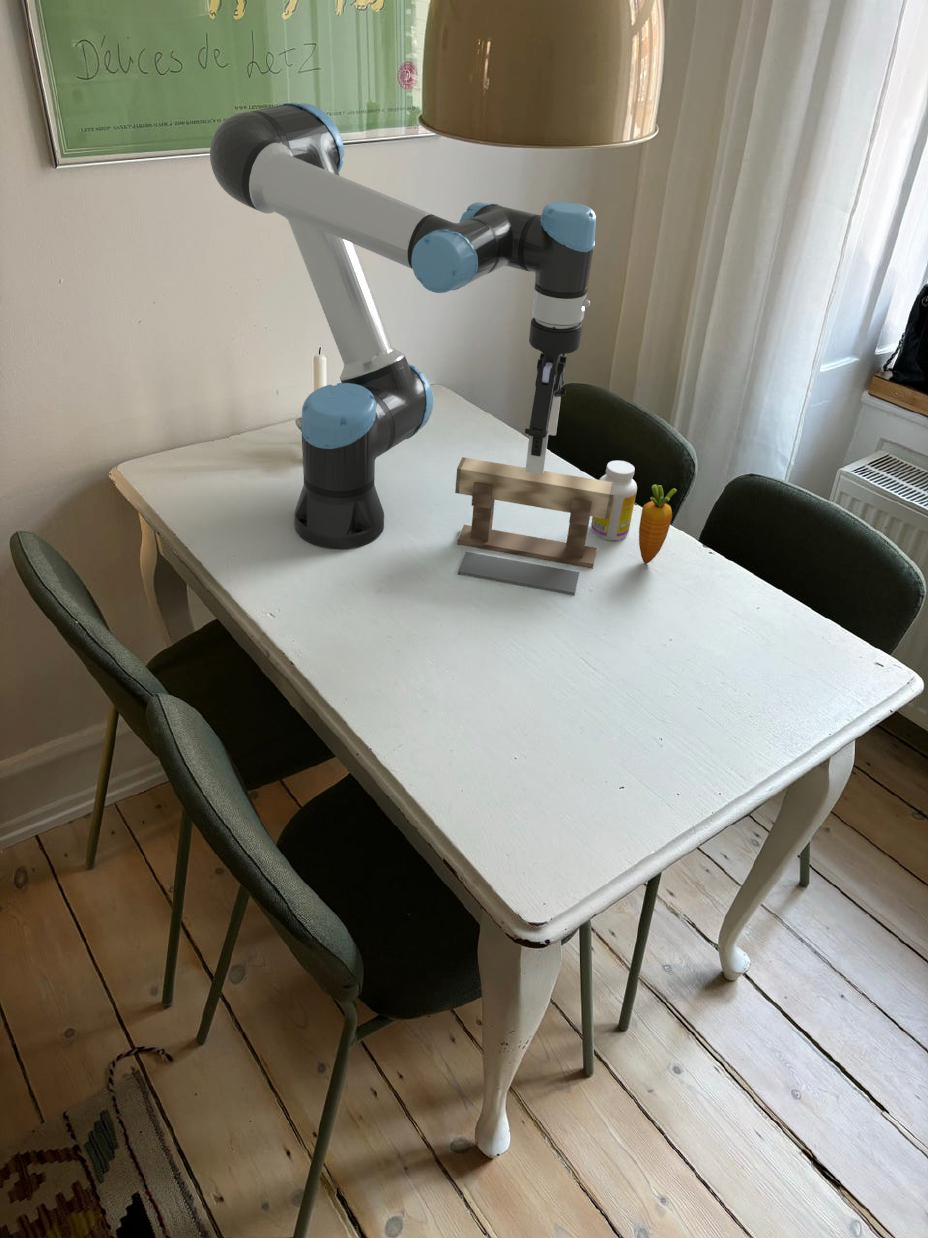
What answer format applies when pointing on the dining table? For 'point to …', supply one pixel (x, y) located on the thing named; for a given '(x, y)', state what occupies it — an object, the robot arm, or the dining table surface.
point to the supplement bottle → (617, 502)
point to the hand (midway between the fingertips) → (541, 452)
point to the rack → (527, 545)
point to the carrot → (654, 524)
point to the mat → (519, 573)
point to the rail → (535, 487)
